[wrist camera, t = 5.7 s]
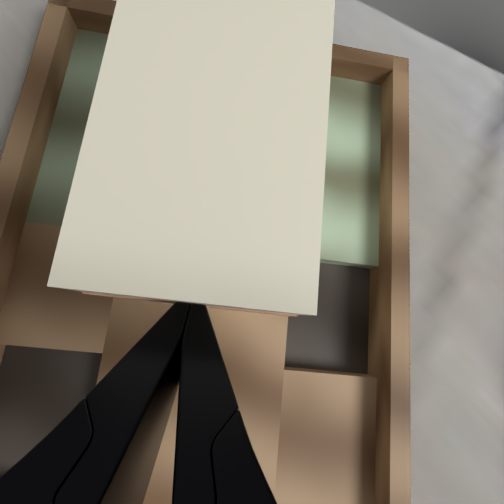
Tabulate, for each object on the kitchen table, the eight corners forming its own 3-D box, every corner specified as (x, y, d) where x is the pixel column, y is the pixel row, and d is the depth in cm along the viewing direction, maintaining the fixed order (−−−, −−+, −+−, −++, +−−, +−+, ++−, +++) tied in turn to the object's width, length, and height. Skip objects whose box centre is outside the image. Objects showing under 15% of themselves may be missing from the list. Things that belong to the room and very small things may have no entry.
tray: (380, 539, 15) (411, 581, 13) (-63, 522, 13) (-124, 569, 11) (386, 87, 21) (408, 58, 19) (73, 30, 19) (52, -12, 17)
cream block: (261, 314, 16) (318, 317, 7) (143, 302, 15) (43, 288, 6) (280, 112, 18) (340, -72, 9) (179, 95, 18) (144, -117, 9)
